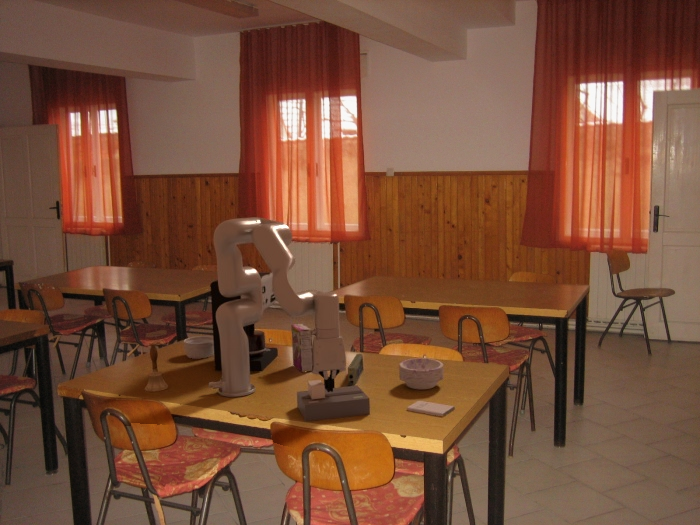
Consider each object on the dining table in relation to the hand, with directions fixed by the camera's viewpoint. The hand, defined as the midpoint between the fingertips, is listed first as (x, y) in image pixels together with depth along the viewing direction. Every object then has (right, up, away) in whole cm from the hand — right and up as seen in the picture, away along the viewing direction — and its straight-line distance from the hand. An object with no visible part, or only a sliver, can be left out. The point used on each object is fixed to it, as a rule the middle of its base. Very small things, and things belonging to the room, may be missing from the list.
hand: (329, 390), depth 215 cm
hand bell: (-62, -5, +30) cm, 69 cm away
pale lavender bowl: (+31, -3, +24) cm, 39 cm away
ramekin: (-56, 0, +75) cm, 94 cm away
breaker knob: (-4, -1, -1) cm, 4 cm away
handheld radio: (+8, -3, +34) cm, 35 cm away
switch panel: (+1, -6, +1) cm, 7 cm away
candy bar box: (-12, -1, +50) cm, 51 cm away
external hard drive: (+31, -7, -1) cm, 32 cm away
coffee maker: (-35, -1, +59) cm, 68 cm away
